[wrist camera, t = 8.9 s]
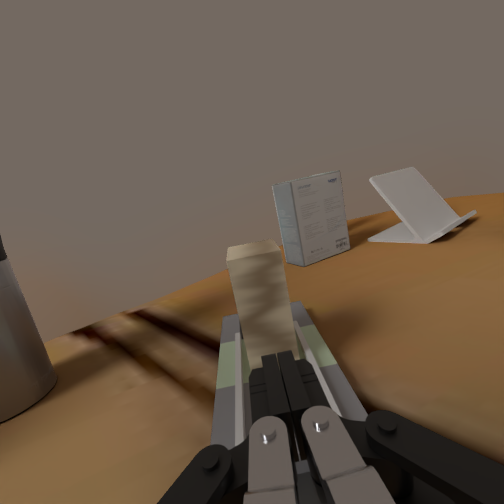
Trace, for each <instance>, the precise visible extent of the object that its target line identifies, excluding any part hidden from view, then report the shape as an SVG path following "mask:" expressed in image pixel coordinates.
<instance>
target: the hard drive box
mask: <svg viewBox="0 0 504 504" xmlns="http://www.w3.org/2000/svg"><path fill="white" fill-rule="evenodd" d="M272 188H273V193H274V199H275V205H276V209H277V215H278V220H279V226H280V231H281V236H282V242H283V247H284V252H285V258H286V262H287V263H291V264H295V265H299V266H303V267H305V266H307V265H310V264H313V263H316V262H318V261H320V260H323V259H325V258H328V257H331V256H333V255H336V254H339V253H342V252H344V251H346V250H349V249H350V243H349V235H348V228H347V221H346V214H345V205H344V199H343V190H342V182H341V175H340V171H333V172H328V173H324V174H319V175H314V176H310V177H305V178H300V179H296V180H291V181H287V182H283V183H279V184H274V185H272Z"/></svg>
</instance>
